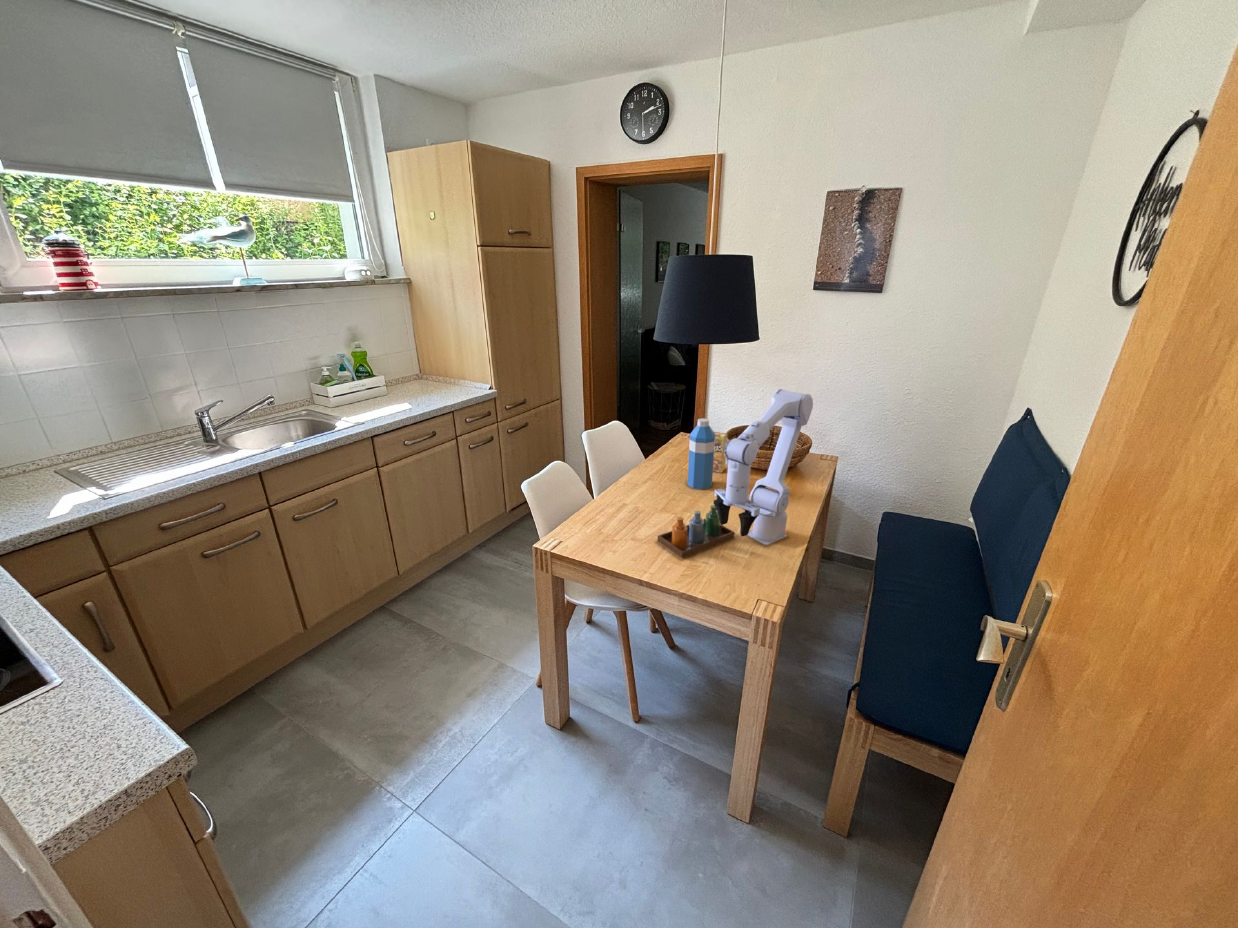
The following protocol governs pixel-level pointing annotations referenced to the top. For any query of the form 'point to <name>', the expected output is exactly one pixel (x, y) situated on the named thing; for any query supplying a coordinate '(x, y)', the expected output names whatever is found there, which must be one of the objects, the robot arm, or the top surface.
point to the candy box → (719, 451)
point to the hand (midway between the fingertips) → (733, 529)
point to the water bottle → (701, 455)
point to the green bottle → (712, 522)
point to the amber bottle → (679, 534)
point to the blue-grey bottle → (696, 528)
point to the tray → (695, 547)
